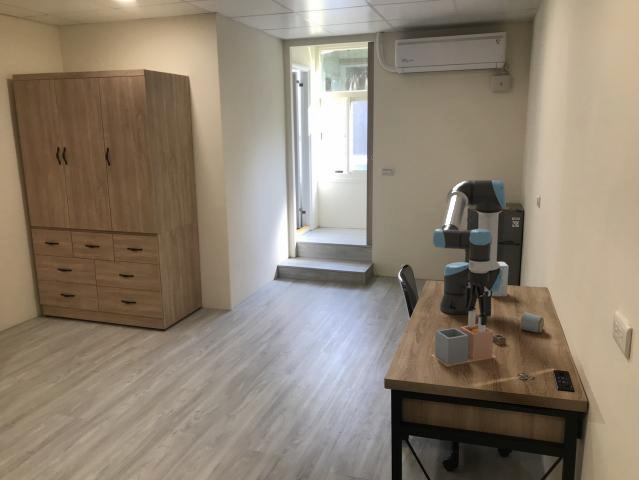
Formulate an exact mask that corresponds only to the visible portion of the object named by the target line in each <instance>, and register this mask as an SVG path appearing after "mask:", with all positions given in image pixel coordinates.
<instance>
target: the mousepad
mask: <svg viewBox="0 0 639 480" xmlns="http://www.w3.org/2000/svg"><path fill="white" fill-rule="evenodd" d="M518 374H519V376H518V379H521V378H522V379H521V380H523V379H524V380H527V379H528V378H529V377H531V379H533V378H534V379H536V377H535V376H534V375H529V374H526V373H525V372H522V373H518ZM520 374H523V375H520ZM525 375H526V376H529V377H526V376H525ZM534 379H533V380H534Z"/></svg>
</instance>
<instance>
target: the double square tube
mask: <svg viewBox="0 0 639 480" xmlns="http://www.w3.org/2000/svg"><path fill="white" fill-rule="evenodd" d="M473 329H478V323H477V324H476V323H475V327H471V328H469V327H468V325H464V326H460V327H459V329H458V328H457V327H451V328H447V329H446V328H445V329H440V330H439V329H438V330H435V335H434V336H435V339H434V340H435V342H434V343H435V345H434V347H435V348H434V354H430V356H431V357H433V358H434V359H436V360H437V361H439V363H441V364H443V365H444V366H445V367H451V366H456V365H462V364H466V363H473V362H479V361H483V360H489V359H495V358H497V356H496V355H494V354H493V346H494V345H493V343H494V342H493V335H494V330H492V329H490V328H488V327H486V330H485V332H481V333H475V334H474V333H472V332H471V330H473Z"/></svg>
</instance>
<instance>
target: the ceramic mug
mask: <svg viewBox="0 0 639 480" xmlns="http://www.w3.org/2000/svg"><path fill="white" fill-rule="evenodd" d="M544 325H545V320H544V317H542V316H540V315H537V314H532V313H529V312H525V311H524V312H523V313H522V315H521V318H520V326H519V327H520V329H521V330H523V331H527V332H532V333H541V332H542V331H543V328H544Z"/></svg>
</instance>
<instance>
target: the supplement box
mask: <svg viewBox="0 0 639 480" xmlns="http://www.w3.org/2000/svg"><path fill="white" fill-rule="evenodd" d="M497 262H498V263H499V264H500V268H502V269H503V273H502V279H501V284H500V289H499V291H498V292H492V296H491V297H507V296H508V279H509V269H510V268H509V265H508V264H507V263H506V262H505V261H497Z"/></svg>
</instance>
